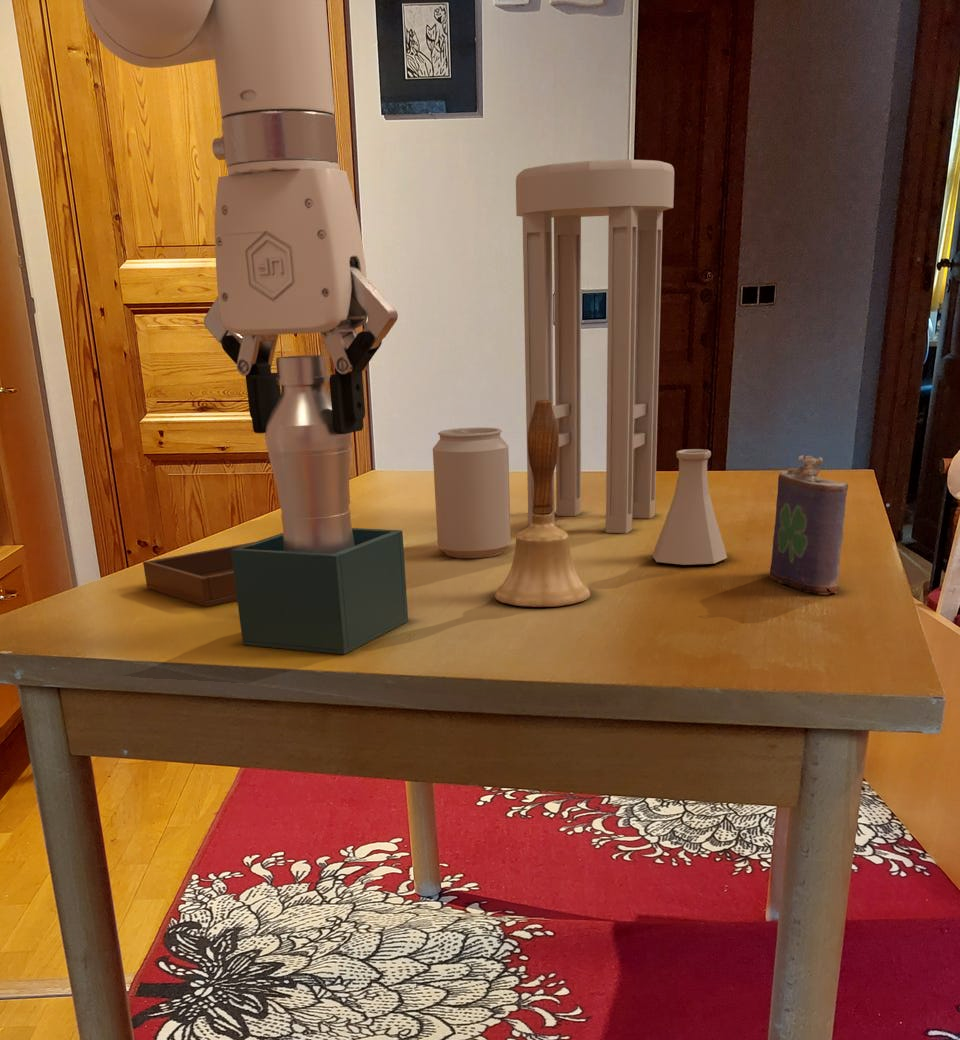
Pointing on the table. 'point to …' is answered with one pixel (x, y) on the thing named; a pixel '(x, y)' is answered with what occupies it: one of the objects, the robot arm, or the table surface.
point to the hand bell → (542, 531)
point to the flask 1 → (691, 517)
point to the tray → (195, 576)
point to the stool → (631, 320)
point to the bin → (321, 593)
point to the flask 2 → (808, 529)
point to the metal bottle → (309, 460)
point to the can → (472, 492)
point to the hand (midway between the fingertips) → (308, 429)
